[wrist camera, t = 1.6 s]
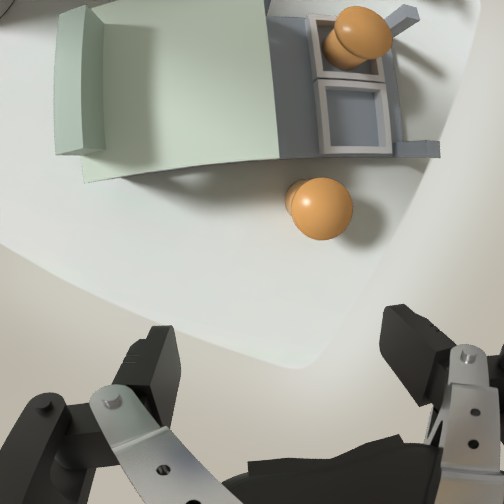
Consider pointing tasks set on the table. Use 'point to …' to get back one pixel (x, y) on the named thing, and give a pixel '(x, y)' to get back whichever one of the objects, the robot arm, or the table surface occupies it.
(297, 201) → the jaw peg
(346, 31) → the ball
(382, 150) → the housing
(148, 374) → the robot arm
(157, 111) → the lid
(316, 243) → the table surface
